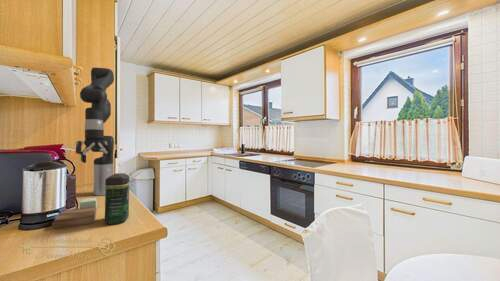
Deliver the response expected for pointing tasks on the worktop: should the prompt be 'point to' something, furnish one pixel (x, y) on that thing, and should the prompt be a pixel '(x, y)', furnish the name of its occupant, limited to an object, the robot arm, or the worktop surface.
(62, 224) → the walnut base
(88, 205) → the sage cube
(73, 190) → the supplement box
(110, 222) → the coffee jar
